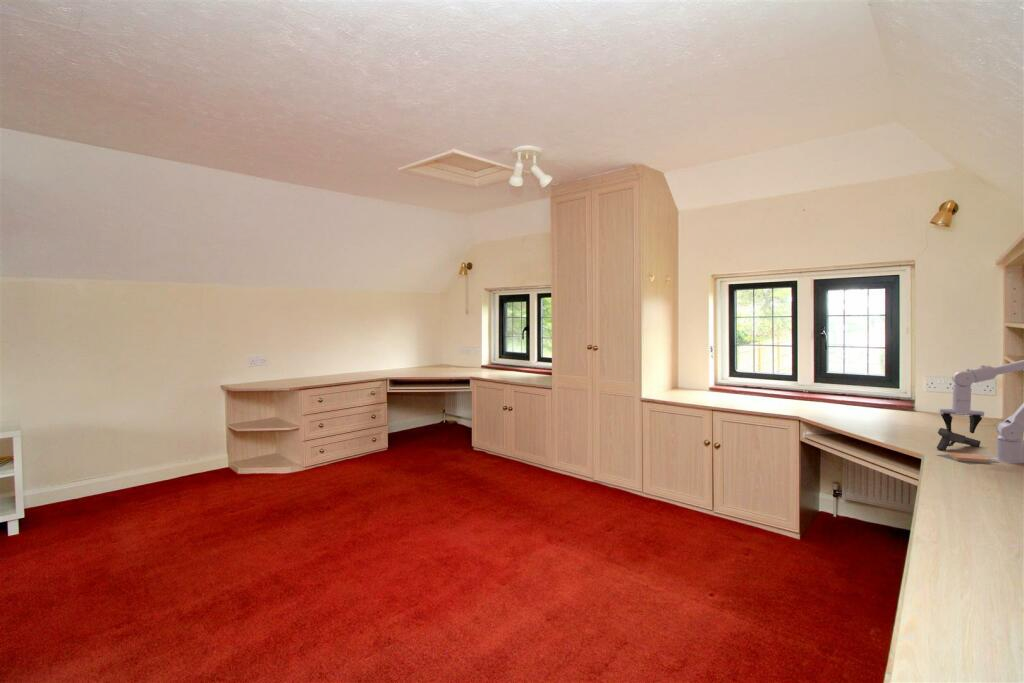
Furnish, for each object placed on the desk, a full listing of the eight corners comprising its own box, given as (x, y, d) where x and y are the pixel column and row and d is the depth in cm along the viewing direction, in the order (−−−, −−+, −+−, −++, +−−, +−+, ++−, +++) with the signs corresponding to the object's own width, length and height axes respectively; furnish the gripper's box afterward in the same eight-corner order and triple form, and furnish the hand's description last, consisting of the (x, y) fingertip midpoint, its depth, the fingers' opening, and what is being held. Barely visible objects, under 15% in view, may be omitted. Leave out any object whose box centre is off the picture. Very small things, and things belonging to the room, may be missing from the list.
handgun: (933, 449, 224) (938, 427, 225) (969, 458, 231) (973, 437, 232) (943, 451, 220) (948, 429, 221) (979, 460, 228) (983, 439, 228)
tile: (948, 452, 213) (956, 457, 206) (978, 454, 209) (988, 459, 202) (948, 455, 213) (956, 460, 206) (978, 458, 210) (988, 463, 202)
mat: (964, 454, 217) (964, 453, 217) (999, 463, 203) (999, 462, 203) (935, 456, 215) (935, 454, 215) (969, 465, 201) (969, 464, 201)
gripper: (979, 399, 214) (977, 431, 215) (936, 397, 219) (935, 428, 220) (987, 402, 207) (985, 435, 208) (943, 400, 213) (941, 432, 214)
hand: (960, 432), depth 214 cm, fingers open, 7 cm apart
